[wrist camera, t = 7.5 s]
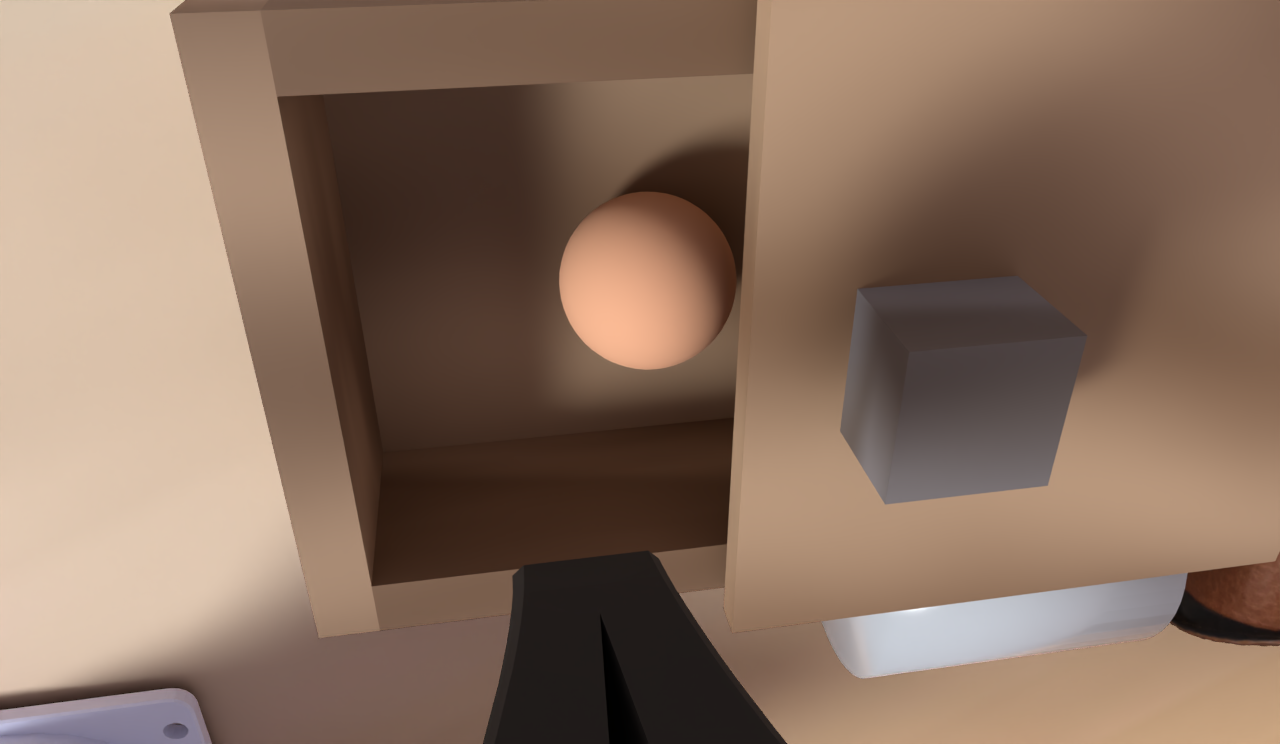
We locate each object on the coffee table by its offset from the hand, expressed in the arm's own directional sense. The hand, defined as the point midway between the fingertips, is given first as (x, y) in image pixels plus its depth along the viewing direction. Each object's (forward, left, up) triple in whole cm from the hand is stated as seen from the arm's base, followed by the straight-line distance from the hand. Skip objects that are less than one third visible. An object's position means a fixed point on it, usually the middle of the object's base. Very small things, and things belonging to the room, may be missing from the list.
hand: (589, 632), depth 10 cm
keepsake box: (0, -1, -10) cm, 10 cm away
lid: (0, -8, -5) cm, 10 cm away
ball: (0, -2, -9) cm, 10 cm away
